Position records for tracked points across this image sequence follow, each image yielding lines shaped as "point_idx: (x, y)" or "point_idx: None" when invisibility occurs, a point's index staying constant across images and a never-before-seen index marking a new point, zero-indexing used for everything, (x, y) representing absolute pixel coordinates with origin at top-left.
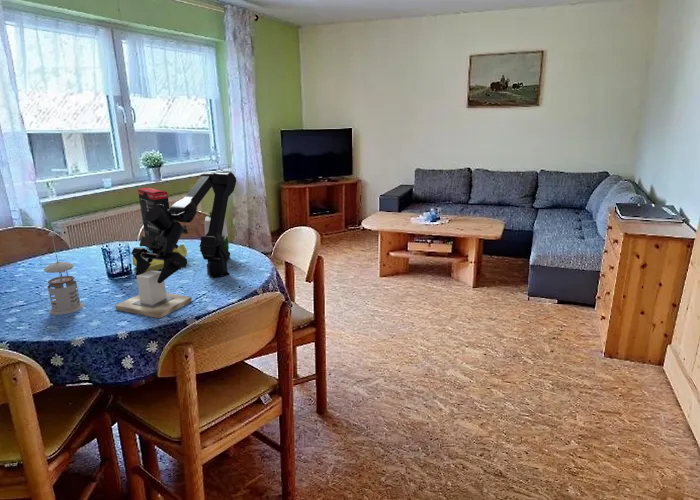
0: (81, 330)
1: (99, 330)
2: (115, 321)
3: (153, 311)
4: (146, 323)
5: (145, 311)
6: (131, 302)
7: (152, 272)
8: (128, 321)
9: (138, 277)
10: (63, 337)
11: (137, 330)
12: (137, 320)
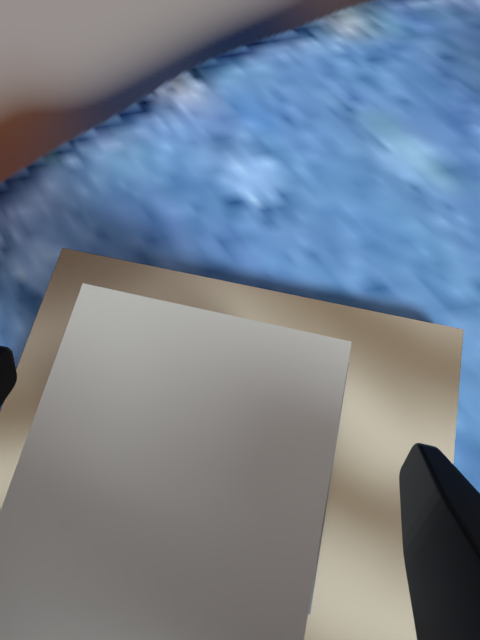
0: (407, 80)
1: (316, 93)
2: (311, 189)
3: (115, 273)
4: (119, 195)
5: (173, 271)
6: (377, 394)
7: (160, 584)
8: (237, 200)
9: (302, 338)
10: (429, 16)
11: (122, 122)
12: (193, 219)
